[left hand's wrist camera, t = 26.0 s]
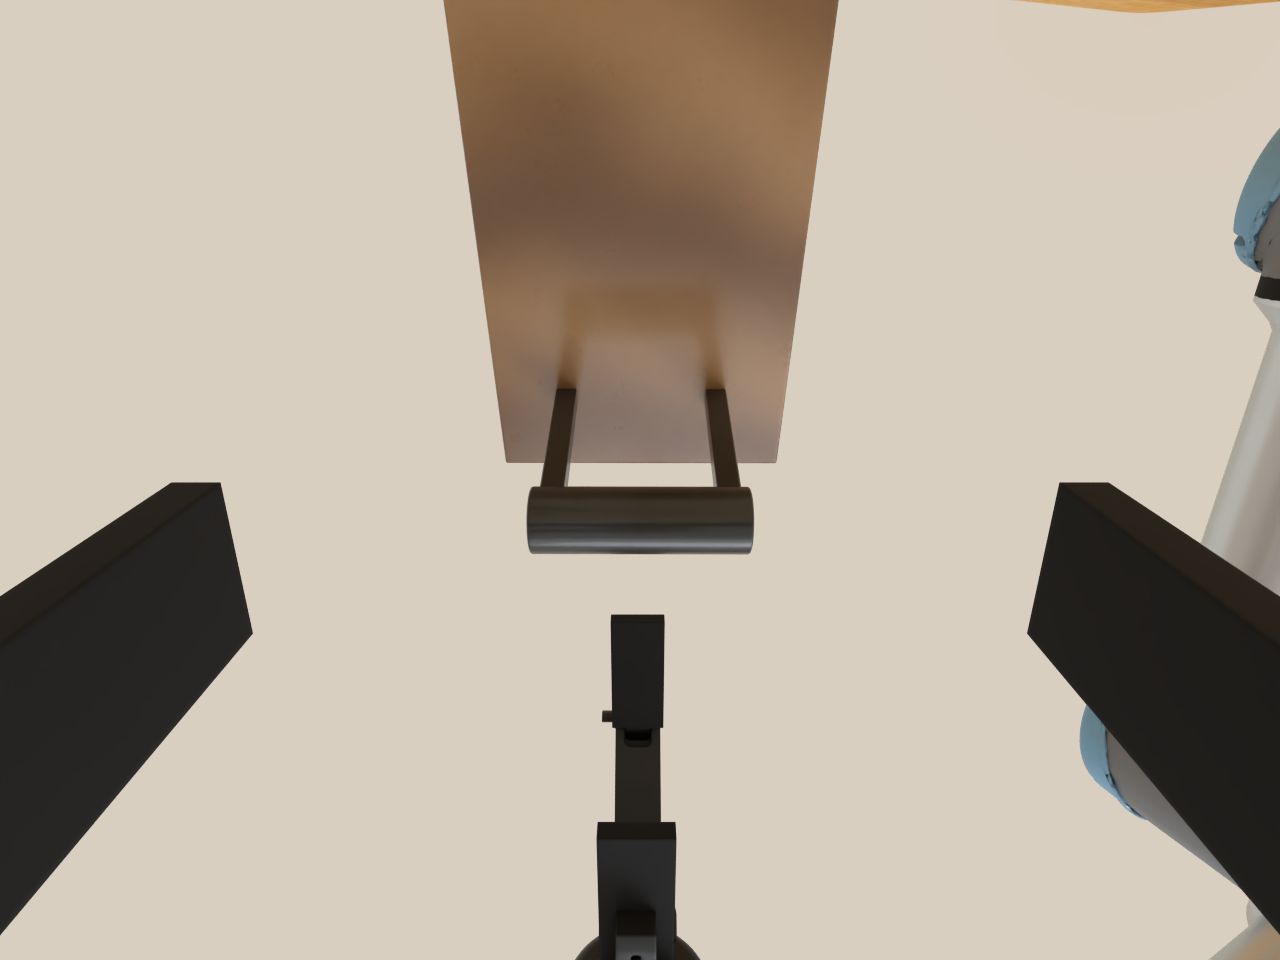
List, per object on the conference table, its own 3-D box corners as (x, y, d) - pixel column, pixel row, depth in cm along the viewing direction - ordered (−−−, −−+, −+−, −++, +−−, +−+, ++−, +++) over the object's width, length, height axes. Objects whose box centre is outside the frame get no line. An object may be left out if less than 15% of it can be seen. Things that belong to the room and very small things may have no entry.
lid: (772, 445, 29) (810, 615, 23) (509, 445, 29) (470, 615, 23) (840, -80, 19) (942, -51, 13) (442, -79, 19) (337, -50, 13)
